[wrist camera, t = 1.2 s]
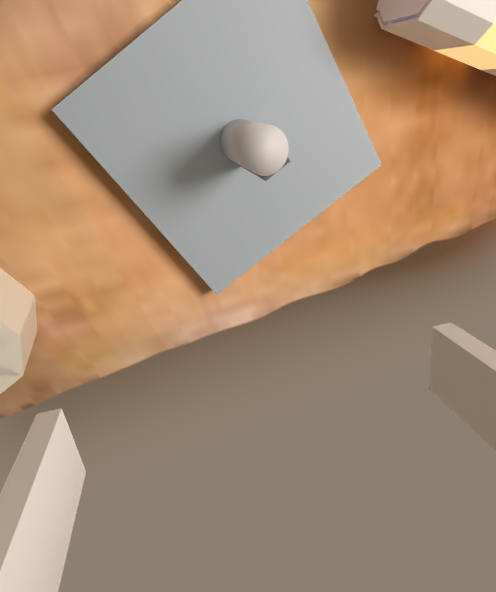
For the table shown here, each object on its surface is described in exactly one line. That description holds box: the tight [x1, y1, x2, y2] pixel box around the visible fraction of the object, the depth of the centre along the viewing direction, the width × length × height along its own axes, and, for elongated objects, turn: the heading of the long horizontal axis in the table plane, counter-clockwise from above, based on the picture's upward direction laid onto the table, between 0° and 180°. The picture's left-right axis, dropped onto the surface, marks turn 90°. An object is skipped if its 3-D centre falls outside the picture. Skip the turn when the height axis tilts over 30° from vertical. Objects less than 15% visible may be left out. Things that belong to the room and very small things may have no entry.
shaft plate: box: [52, 0, 382, 295], centre depth 28 cm, size 18×18×7 cm
